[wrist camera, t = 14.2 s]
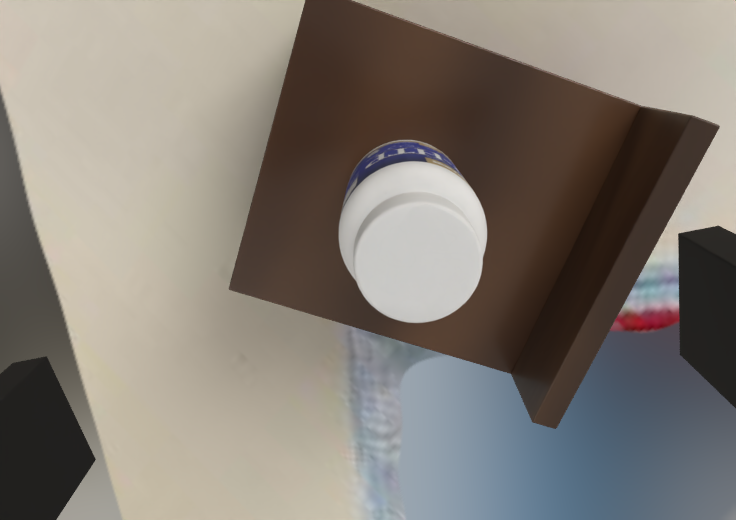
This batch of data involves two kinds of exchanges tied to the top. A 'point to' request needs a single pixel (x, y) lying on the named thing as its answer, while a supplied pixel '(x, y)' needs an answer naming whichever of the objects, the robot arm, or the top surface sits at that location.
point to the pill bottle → (412, 232)
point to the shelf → (486, 178)
